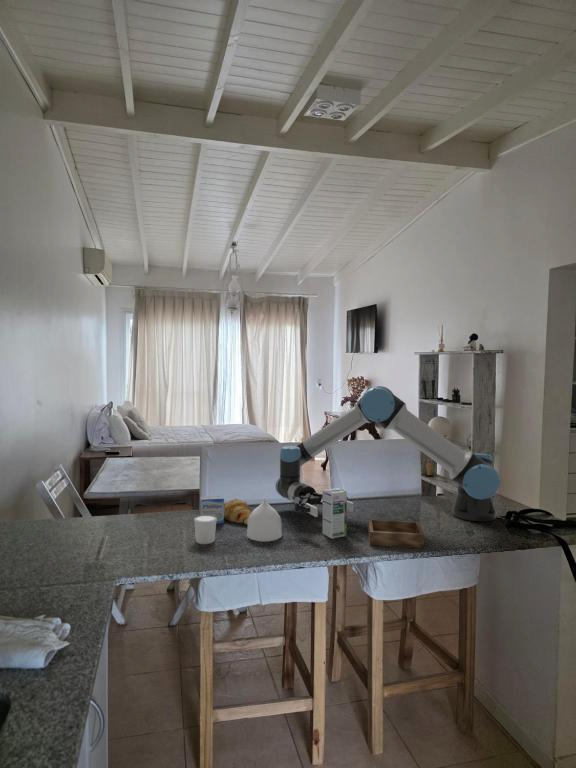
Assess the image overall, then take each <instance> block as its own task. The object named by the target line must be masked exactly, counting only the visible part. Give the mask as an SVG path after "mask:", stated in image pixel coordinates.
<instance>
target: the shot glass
mask: <svg viewBox="0 0 576 768" xmlns="http://www.w3.org/2000/svg"><path fill="white" fill-rule="evenodd" d="M216 520H217V518H216V517H214V516H209V515H205V516H200V515H198V516H196V517H194V518H193V522H194V532H195V533H194V534H195V543H196V544H200V545H208V544H212V543H214V542H215V538H216V529H217V527H216V526H217V524H216Z"/></svg>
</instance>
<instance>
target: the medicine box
mask: <svg viewBox="0 0 576 768" xmlns="http://www.w3.org/2000/svg"><path fill="white" fill-rule="evenodd" d="M199 501H200V502H199V516H205V515H209V516H214V517H216V518H217V520H216V525H222V524H224V523H225V518H224V503H225V498H224V496H223V495H218V496H217V495H216V496H200V497H199Z"/></svg>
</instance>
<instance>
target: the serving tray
mask: <svg viewBox="0 0 576 768" xmlns="http://www.w3.org/2000/svg"><path fill="white" fill-rule="evenodd" d="M367 531H368V539H369V546H377V545H381V547H395V546H401V547H400V548H412V547H415V549H417V548H418V549H424V547H425V534H424V531H423V529H422V526H421V524H420V522H419V521H410V520H409V521H407V520H393V519H392V520H388V519H374V518H373V519H368V530H367Z"/></svg>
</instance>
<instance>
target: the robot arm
mask: <svg viewBox="0 0 576 768" xmlns="http://www.w3.org/2000/svg"><path fill="white" fill-rule="evenodd" d="M372 422H375V423H376V424H377V425H379V426H380V427H382V429H384V430H385V431H386V430H393V431H394V432H395V433H396V434H398V435H399V436H400V437H402V438H403V439H405V440H406V441H407V442H409V443H410V444H411V445H413V446H414V447H415V448H417V449H418V450H419V451H420V452H422V453H423V454H425V456H427V457H429V458H430V459H431V460H432V461H434V462H435V463H437V464H438V465H439V466H441V468H443V469H445V471H447V472H448V473H449V474H448V475H449V478H450V480H452V481H453V482H454V483H456V484H457V493H456V497H455V499H454V502H453V505H452V507H451V508H452V509H451V511H452V512H451V514H452V515H453V516H454V517H456V518H459V519H461V520H466V521H469V522H470V521H472V522H492V521H495V520H496V519H497V511H496V507H495V504H494V501H493V498H492V497H493V496H495V495H496V494H497V492H498V491H499V488H500V485H501V480H500V474H499V473H498V471H497V470H496V469H495V468H494V467H493V463H494V461H493V456H492V455H491V454H488V453H475V452H474V453H473V452H472V451H463V450H462V449H461V448H459V447H458V446H457V445H455V444H454V443H453V442H451V441H450V440H449V439H448V438H446V437H445V436H443V435H442V434H440V433H439V432H438V431H436V430H435V429H434V428H433V427H432V426H430V425H428V424H427V423H425V422H424V421H423V420H422V419H420V418H419V417H418V416H416V415H414V414H413V412H411V411H409V410H408V409H407V403H406V402H404V401H403V400H402V399H400V398H399V397H398V396H396V395H395V394H394V392H392V390H391V389H389V388H388V387H385V386H373V387H370V388H368V389H367V390H366V391H365V392H364V393H363V394H362V397H361V398H360V399H359V400H358V401H356V402H355V405H354V406H353V407H351V408H350V409H348V410H347V411H345V412H344V413H343V414H341V415H340V416H338V417H337V418H335V419H334V420H332V421H331V422H330V423H328V424H327V425H325V426H324V427H322V428H321V429H319V430H318V431H316V432H315V433H313V434H312V435H310V436H309V437H308V438H306V439H305V440H303V441H302V442H300V443H299V444H297V445H285V446H282V447H280V453H279V463H280V464H279V478H278V479H277V480H276V482H275V484H274V485H275V491H276V493H277V494H278V495H280V496H281V497H282V498H285V499H286V500H289V501H291V502H292V505H294V511H295V512H299V511H300V514H301V515H302V514H305V513H307V514H310V516H313V517H314V518H318V513H319V512H318V511H319V510H318V507H316V505H322V506H323V493H319V492H317V490H315V488H314V487H312V486H310V485H308V484H306V483H303V482H301V467H302V466H303V465H305V464H307V462H309V461H311V460H312V459H314V458H315V457H317V456H318V455H320V454H321V453H322V452H324V451H326V450H327V449H329V448H330V447H332V446H333V445H335V444H336V443H338V442H339V441H340V440H342V439H344V438H345V437H347V436H348V435H350V434H351V433H353V432H354V431H356V430H357V429H359V428H360V427H362V426H363V425H365V424H366V423H367V424H371V423H372ZM354 505H355V503H354V502H352V501H349V497H348V496H347V511H349V512H354Z"/></svg>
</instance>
